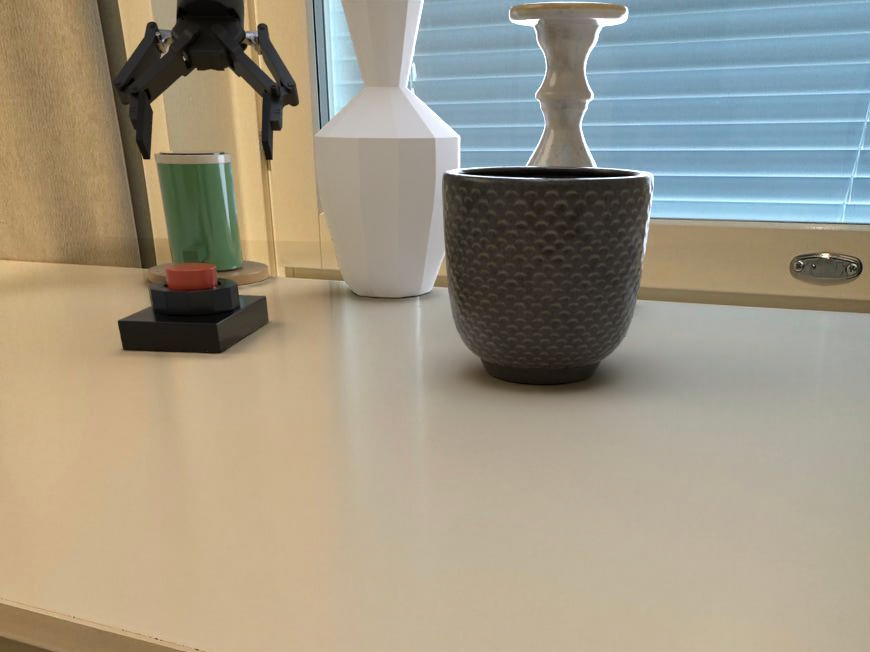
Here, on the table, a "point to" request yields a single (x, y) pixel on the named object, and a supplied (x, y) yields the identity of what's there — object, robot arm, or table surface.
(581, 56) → the candle holder
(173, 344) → the black base
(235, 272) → the trivet
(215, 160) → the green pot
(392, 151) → the vase
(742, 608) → the table surface
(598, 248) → the planter
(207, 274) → the timer button
